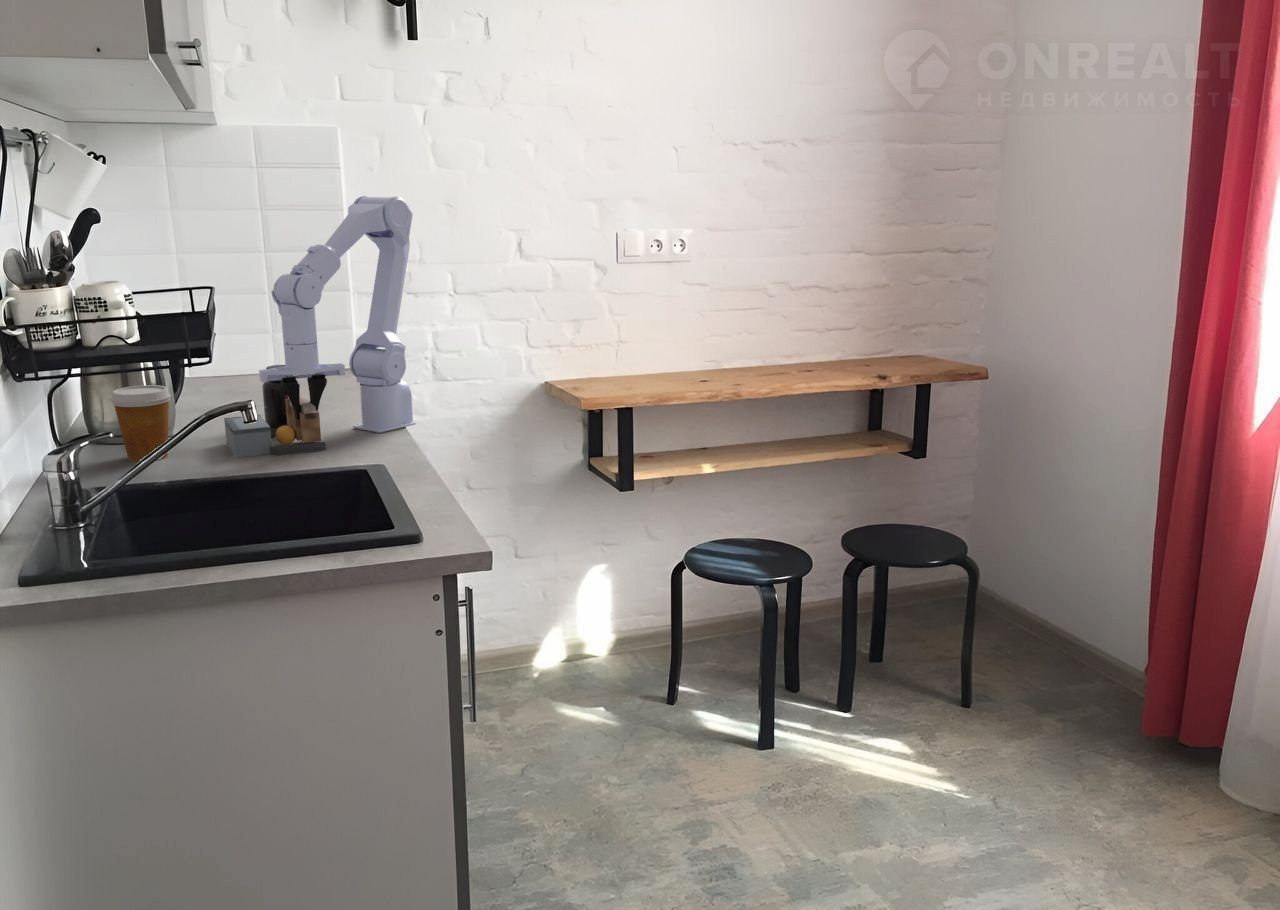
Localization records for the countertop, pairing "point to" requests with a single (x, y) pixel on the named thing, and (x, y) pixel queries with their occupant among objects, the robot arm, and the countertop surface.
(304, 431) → the tan piece
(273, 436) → the rail frame
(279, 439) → the ball
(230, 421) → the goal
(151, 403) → the disposable coffee cup
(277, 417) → the supplement bottle
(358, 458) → the countertop surface
